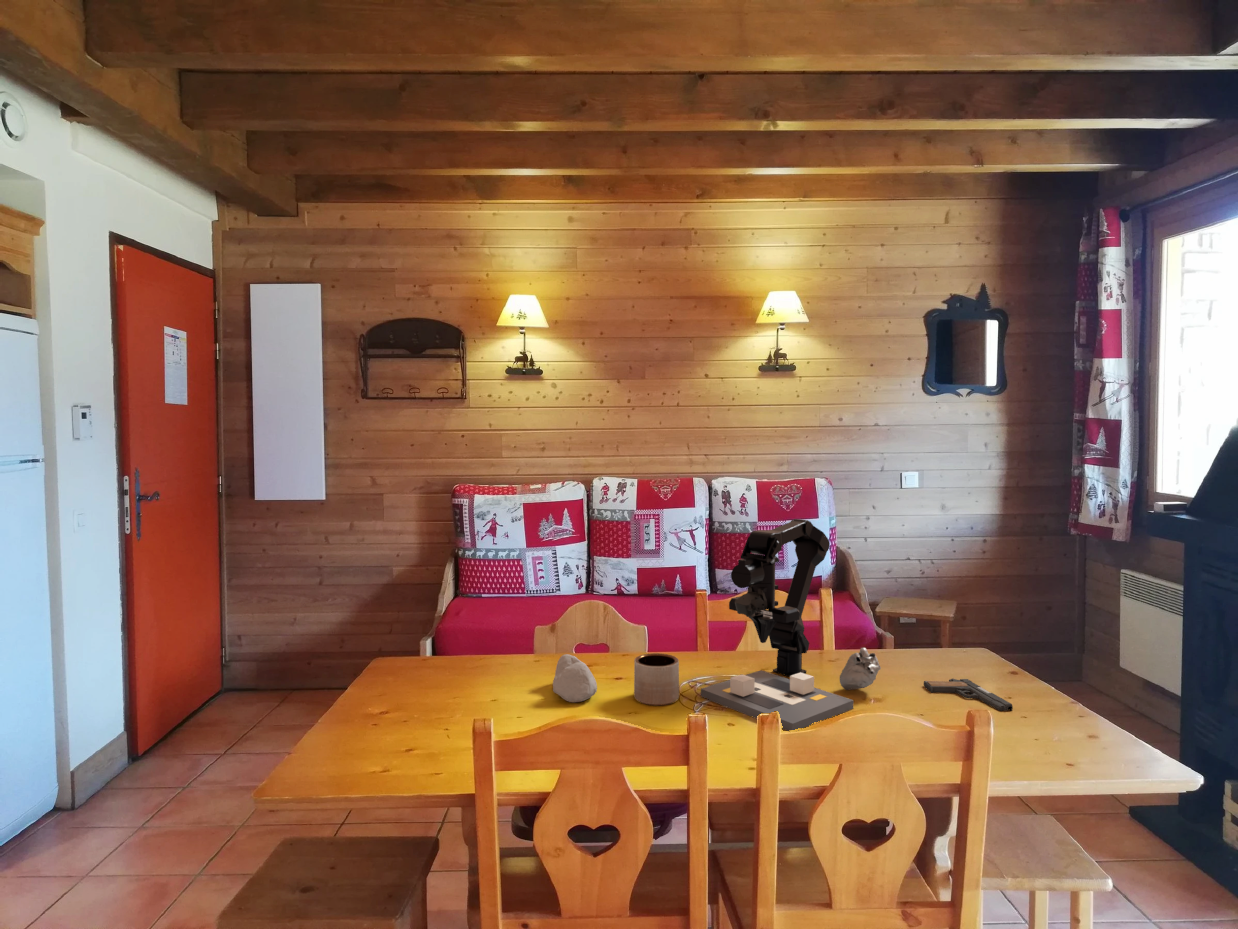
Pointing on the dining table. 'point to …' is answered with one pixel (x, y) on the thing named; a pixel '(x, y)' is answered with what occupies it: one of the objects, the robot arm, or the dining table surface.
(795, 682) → the peach cube
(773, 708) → the switch board
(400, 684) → the dining table surface
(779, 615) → the robot arm
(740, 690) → the block
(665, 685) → the planter
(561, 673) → the decorative stone
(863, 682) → the heart
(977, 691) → the handgun
